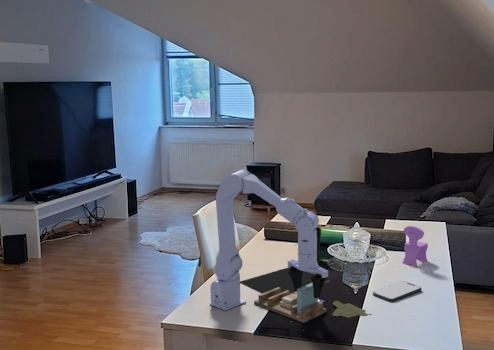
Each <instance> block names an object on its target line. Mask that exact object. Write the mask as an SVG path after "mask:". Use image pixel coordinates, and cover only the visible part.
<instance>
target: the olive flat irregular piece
mask: <svg viewBox="0 0 494 350" xmlns="http://www.w3.org/2000/svg"><path fill="white" fill-rule="evenodd" d="M332 305H333V306H335V307H336V309H335V310H334V311H333V313H331V316H333V317H334V316H336V317H340V316H341V317H345V318H347V319H349V318H352V317H356V316H360V317H367V316H372V315H373V314H371V313H366V312H365V311H367V310H366V309H363V308H360V307H358V306H356V305H354V304H351V303H343V302H341V301H339V300H335V301H333V303H332Z"/></svg>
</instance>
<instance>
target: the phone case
mask: <svg viewBox="0 0 494 350" xmlns="http://www.w3.org/2000/svg"><path fill="white" fill-rule="evenodd" d="M421 292H422V287H421V286H419V285H415V284H413V283H410V282H407V281H399V282H396V283H393V284H390V285H388V286H385V287H383V288H380V289H377V290H375V291H374V290H373V292H372V296H374V297H376V298H379V299H381V300H384V301H386V302H389V303H394V302H397V301H400V300H402V299H405V298H408V297H410V296H413V295H415V294H418V293H421Z"/></svg>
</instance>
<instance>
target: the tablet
mask: <svg viewBox="0 0 494 350" xmlns="http://www.w3.org/2000/svg"><path fill="white" fill-rule="evenodd" d="M289 269H290V267H288V266H287V267H284V268H282V269H278V270H275V271H270V272H268V273H265V274H261V275H259V276H254V277H251V278H247V279H244V280H240V285H243V286H245V287H246V288H247V287H248V288H249V289H251V290H253V291H256V292H258V293H260V294H263V293H265V292H268V291H270V290H273V289H275V288H278V287H279V288H281V293H282V292H284V291H287V290H288V291H290V294H292V293H293V294H295V293H296V292H295V289H294V285H293V282H292V279H291V277H290V275H289V274H288V270H289ZM313 276H316V274H312V273H309V272H306V271H303V274H302V285H301V287H303V286H306V285H308V284H311V283H312V280H311V277H313ZM330 281H331V280H330V278H327V279H326V281H325V283H329V282H330Z"/></svg>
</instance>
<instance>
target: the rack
mask: <svg viewBox="0 0 494 350" xmlns="http://www.w3.org/2000/svg"><path fill="white" fill-rule="evenodd" d="M288 295H290V291H288V290H287V291H284V292H282V293H281V288H279V287H278V288H275V289H273V290H270V291H268V292H265V293H263V294H262V293H260V294H258V299H256V300H254V302H253V303H254V305H256V306H259V307H261V308H265V309H267V310H268V311H269V310H270V311H272V312H275V313H277V314H280V315H282V316H285V317H287V318H291V319H293V320H295V321H298V322H301V323H302V324H305V323H306V322H308V321H311V320H313V319H315V318H317V317H320V315H323V314H326V313H327V312H328V311H327V308H325V307H324V302H322V301H318V303H316V304H314V305H312V306H310V307H308V308H305V309H303V310H301V315H299V314H297V304H296V305H294V306H292V307H291V309H288V308H285V307H283V306H280V302H281V301H282V298H283V297H285V296H288Z"/></svg>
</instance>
